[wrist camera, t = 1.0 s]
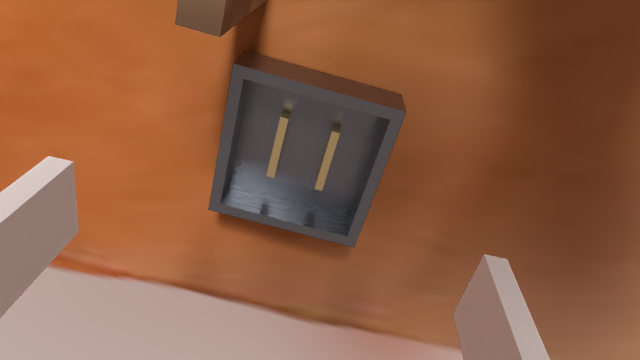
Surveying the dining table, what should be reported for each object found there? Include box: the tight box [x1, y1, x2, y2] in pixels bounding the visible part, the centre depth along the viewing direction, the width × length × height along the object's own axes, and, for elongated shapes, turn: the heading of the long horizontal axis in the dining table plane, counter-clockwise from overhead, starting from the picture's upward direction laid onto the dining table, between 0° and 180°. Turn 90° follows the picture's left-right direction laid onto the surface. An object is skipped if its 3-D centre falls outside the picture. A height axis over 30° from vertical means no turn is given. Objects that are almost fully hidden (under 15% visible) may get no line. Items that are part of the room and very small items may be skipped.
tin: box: [208, 50, 406, 247], centre depth 34 cm, size 12×12×4 cm
